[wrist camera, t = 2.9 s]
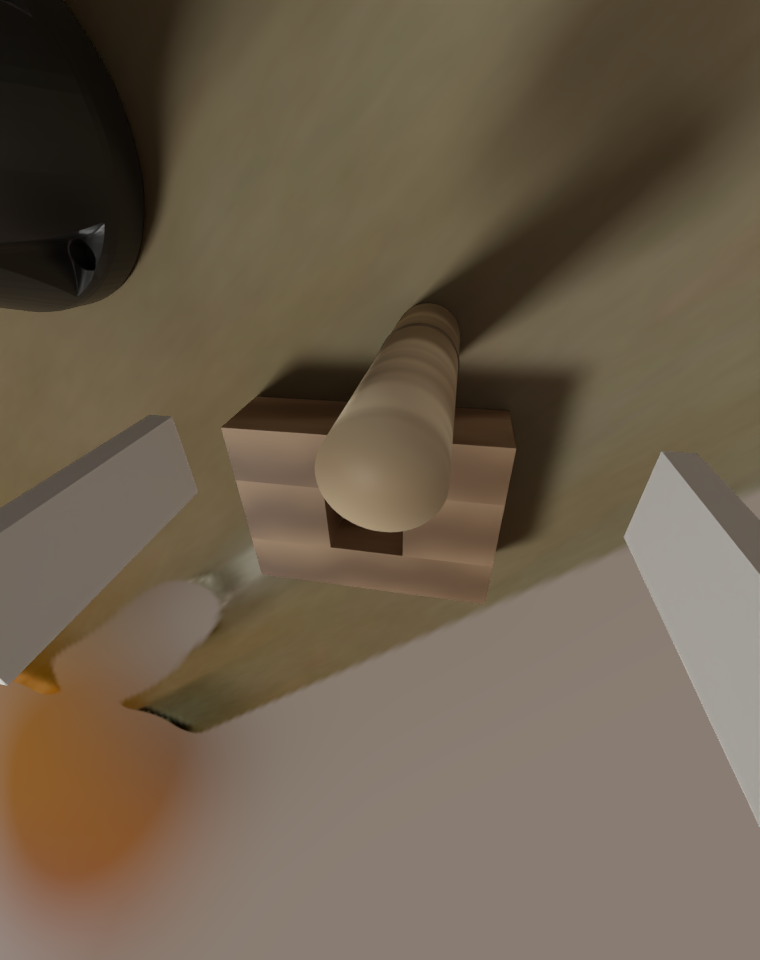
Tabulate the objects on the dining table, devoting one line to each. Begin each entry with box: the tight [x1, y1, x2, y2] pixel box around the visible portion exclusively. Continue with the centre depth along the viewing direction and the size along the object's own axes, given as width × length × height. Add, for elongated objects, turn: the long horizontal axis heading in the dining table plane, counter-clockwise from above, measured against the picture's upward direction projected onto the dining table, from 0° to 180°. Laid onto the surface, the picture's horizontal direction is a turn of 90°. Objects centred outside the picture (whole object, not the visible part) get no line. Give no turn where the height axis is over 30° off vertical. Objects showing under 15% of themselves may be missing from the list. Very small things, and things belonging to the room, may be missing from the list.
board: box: [221, 397, 516, 604], centre depth 26 cm, size 12×16×4 cm
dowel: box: [315, 303, 460, 532], centre depth 16 cm, size 4×4×14 cm
